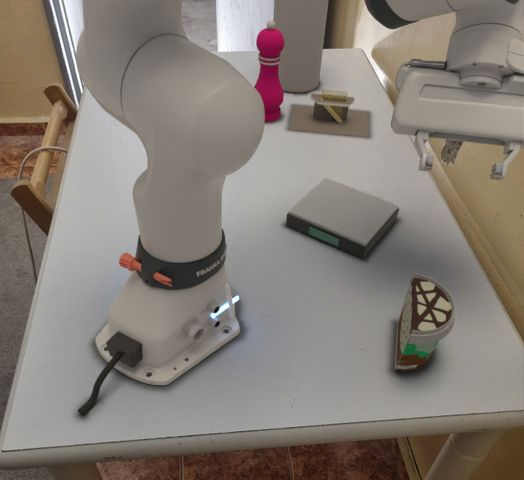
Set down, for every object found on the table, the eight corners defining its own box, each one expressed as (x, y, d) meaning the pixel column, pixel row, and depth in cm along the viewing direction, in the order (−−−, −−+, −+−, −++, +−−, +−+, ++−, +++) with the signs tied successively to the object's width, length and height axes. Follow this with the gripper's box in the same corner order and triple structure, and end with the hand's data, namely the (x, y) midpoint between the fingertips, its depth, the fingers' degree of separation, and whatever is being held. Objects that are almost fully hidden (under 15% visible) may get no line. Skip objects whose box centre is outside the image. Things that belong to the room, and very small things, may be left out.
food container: (437, 387, 73) (461, 341, 66) (394, 379, 74) (412, 333, 66) (436, 324, 81) (457, 277, 73) (397, 317, 82) (413, 270, 74)
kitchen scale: (362, 260, 90) (365, 245, 88) (285, 226, 96) (286, 212, 93) (396, 220, 98) (400, 205, 96) (323, 190, 103) (325, 176, 101)
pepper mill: (259, 125, 119) (262, 28, 104) (247, 111, 123) (248, 16, 108) (287, 120, 121) (294, 24, 106) (274, 106, 125) (279, 12, 110)
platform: (367, 137, 117) (373, 108, 112) (289, 129, 118) (291, 100, 113) (367, 112, 125) (373, 84, 120) (293, 105, 126) (296, 77, 121)
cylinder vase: (267, 72, 137) (272, -42, 118) (314, 72, 138) (326, -42, 119) (273, 94, 129) (279, -25, 110) (322, 93, 130) (337, -25, 111)
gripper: (403, 45, 65) (385, 158, 66) (572, 62, 63) (550, 178, 64) (395, 68, 71) (379, 170, 72) (549, 84, 69) (529, 189, 71)
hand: (460, 174), depth 68 cm, fingers open, 8 cm apart
